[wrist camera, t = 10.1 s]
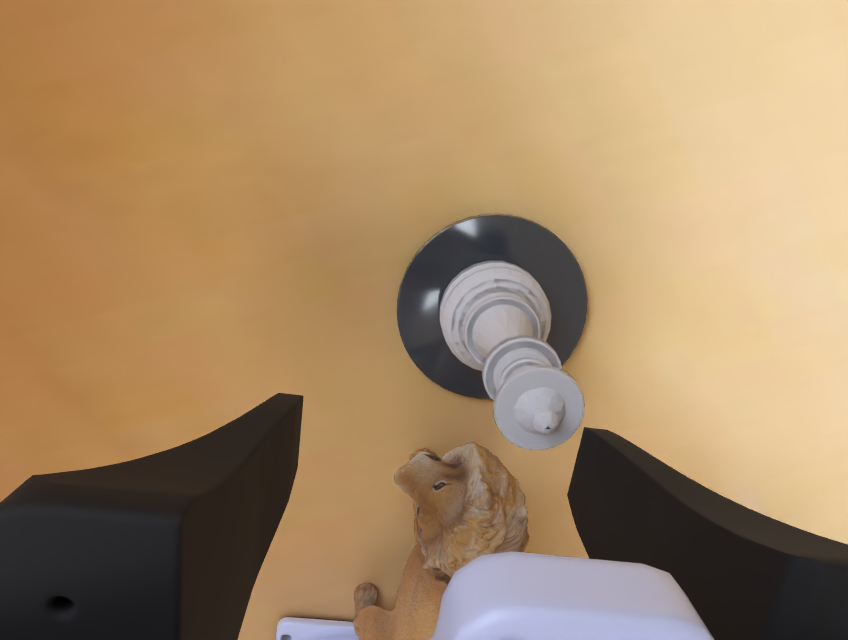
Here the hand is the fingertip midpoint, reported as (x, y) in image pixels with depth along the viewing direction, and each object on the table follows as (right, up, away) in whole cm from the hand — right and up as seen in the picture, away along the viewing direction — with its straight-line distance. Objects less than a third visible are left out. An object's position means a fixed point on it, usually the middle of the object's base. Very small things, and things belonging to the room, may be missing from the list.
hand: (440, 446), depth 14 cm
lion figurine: (-1, -6, +12) cm, 14 cm away
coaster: (+2, +4, +9) cm, 10 cm away
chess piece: (+2, +4, +9) cm, 10 cm away
